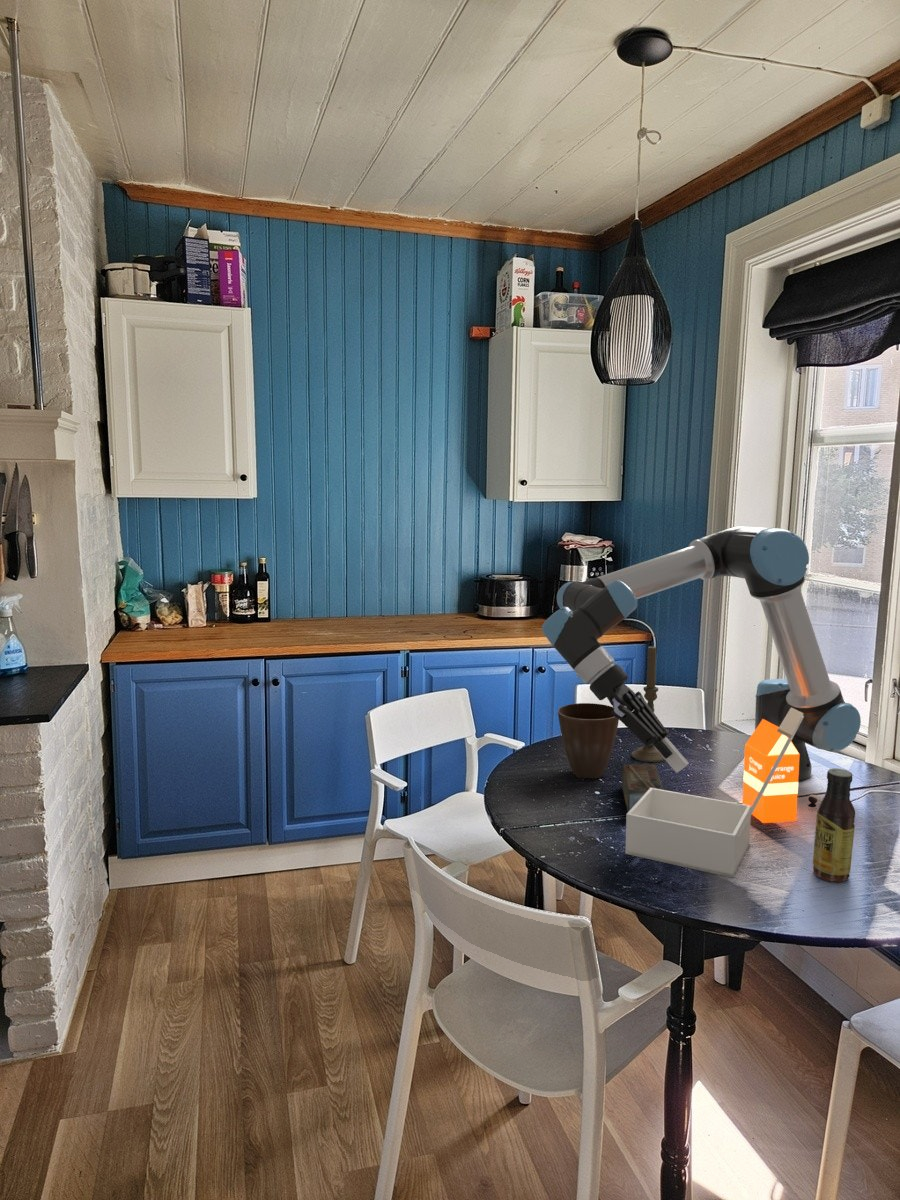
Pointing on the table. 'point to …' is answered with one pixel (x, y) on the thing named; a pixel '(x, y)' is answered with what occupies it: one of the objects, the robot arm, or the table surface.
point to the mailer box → (688, 831)
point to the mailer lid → (789, 730)
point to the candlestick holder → (650, 696)
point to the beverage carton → (638, 781)
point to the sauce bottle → (835, 829)
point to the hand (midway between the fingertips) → (682, 768)
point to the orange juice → (782, 786)
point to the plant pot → (588, 737)
